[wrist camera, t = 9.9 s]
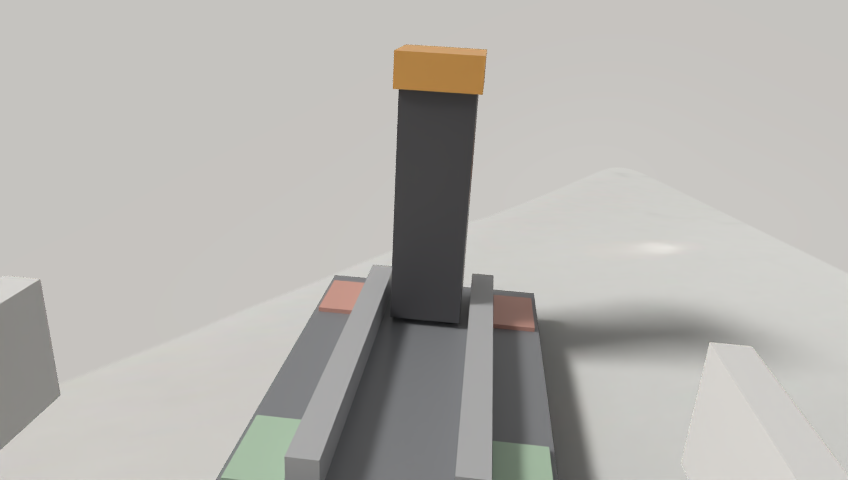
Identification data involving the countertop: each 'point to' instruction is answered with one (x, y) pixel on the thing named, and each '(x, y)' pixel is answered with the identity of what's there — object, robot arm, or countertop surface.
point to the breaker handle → (433, 177)
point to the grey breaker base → (405, 393)
